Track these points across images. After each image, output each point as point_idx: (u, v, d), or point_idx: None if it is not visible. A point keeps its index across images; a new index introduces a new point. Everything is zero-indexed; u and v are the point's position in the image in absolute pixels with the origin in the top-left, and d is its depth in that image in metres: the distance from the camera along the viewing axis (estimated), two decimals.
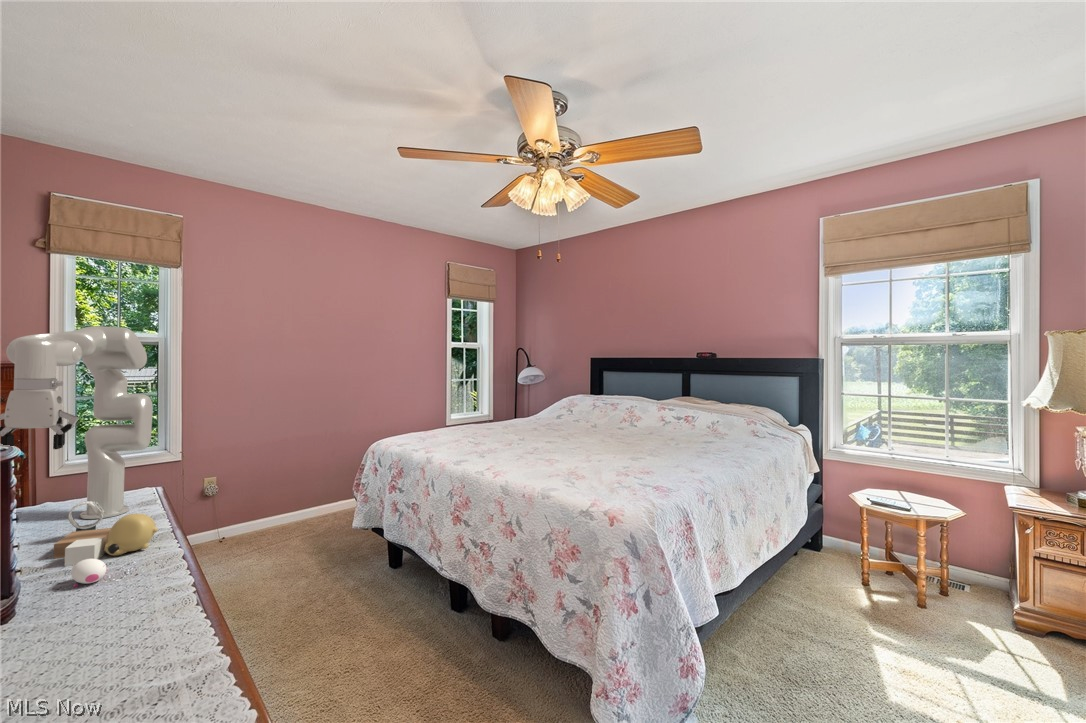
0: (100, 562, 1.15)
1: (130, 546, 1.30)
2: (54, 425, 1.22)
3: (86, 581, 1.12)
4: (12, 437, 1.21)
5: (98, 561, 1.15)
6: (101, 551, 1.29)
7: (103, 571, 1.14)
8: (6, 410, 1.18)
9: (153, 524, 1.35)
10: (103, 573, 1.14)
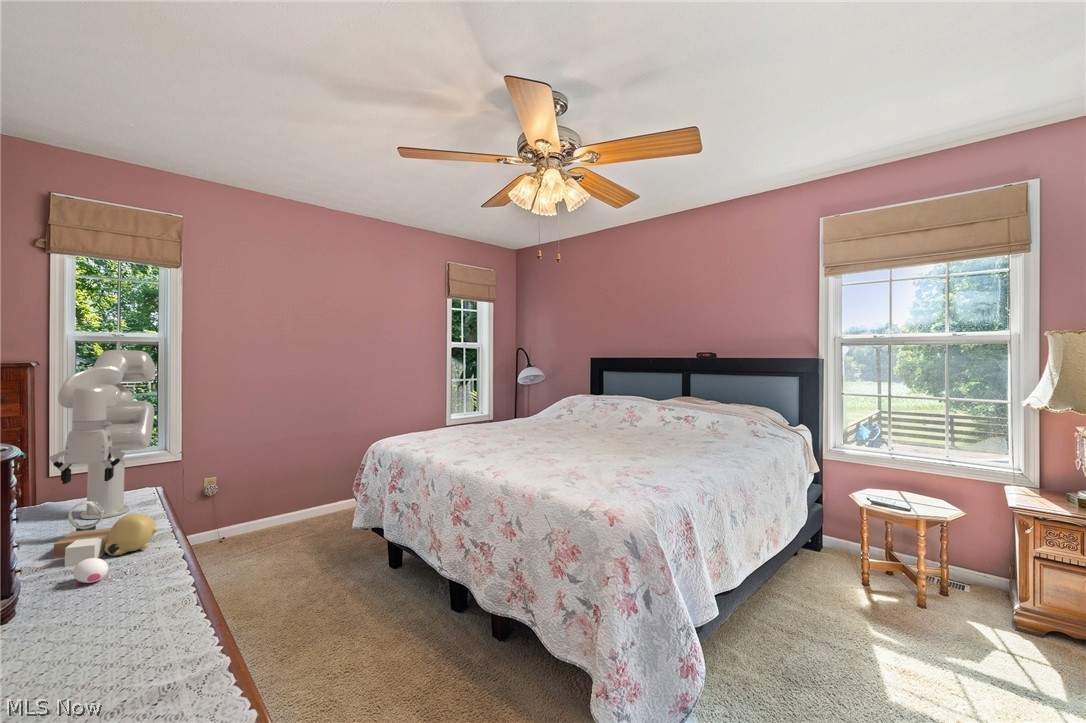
0: (102, 561, 1.15)
1: (130, 546, 1.30)
2: (105, 460, 1.42)
3: (88, 580, 1.12)
4: (70, 471, 1.40)
5: (100, 560, 1.15)
6: (101, 551, 1.29)
7: (105, 570, 1.15)
8: (65, 448, 1.38)
9: (153, 524, 1.35)
10: (105, 572, 1.15)
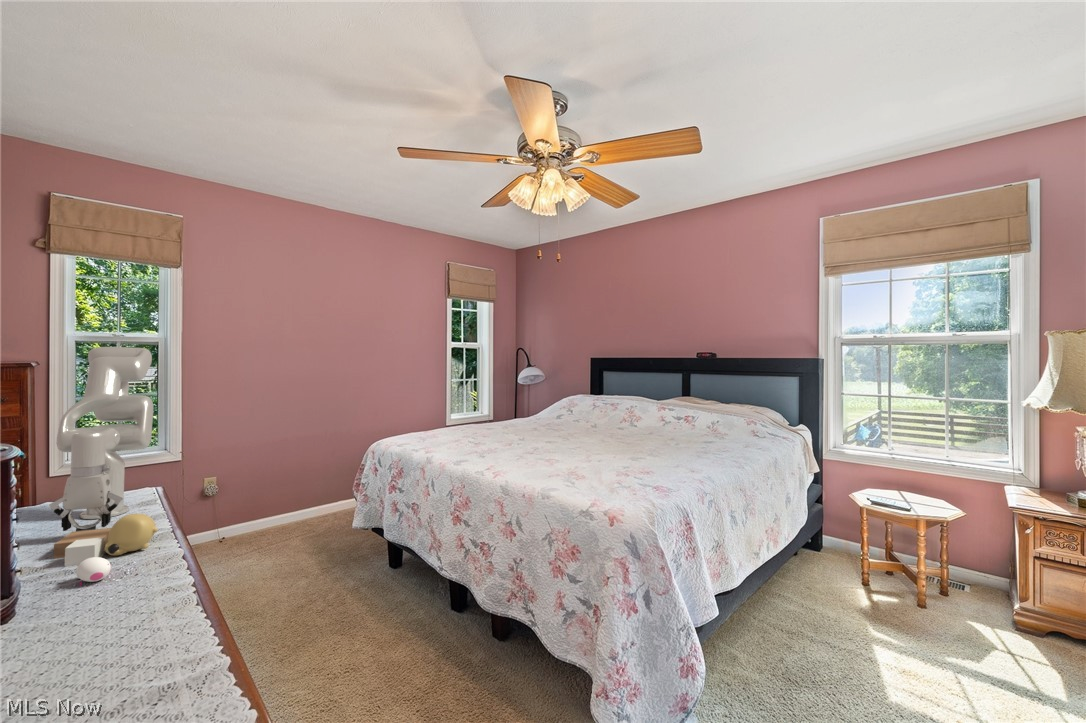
0: (105, 560, 1.16)
1: (130, 546, 1.30)
2: (103, 506, 1.42)
3: (91, 579, 1.13)
4: None
5: (102, 559, 1.16)
6: (101, 551, 1.29)
7: (107, 569, 1.15)
8: (64, 495, 1.38)
9: (153, 524, 1.35)
10: (108, 571, 1.15)
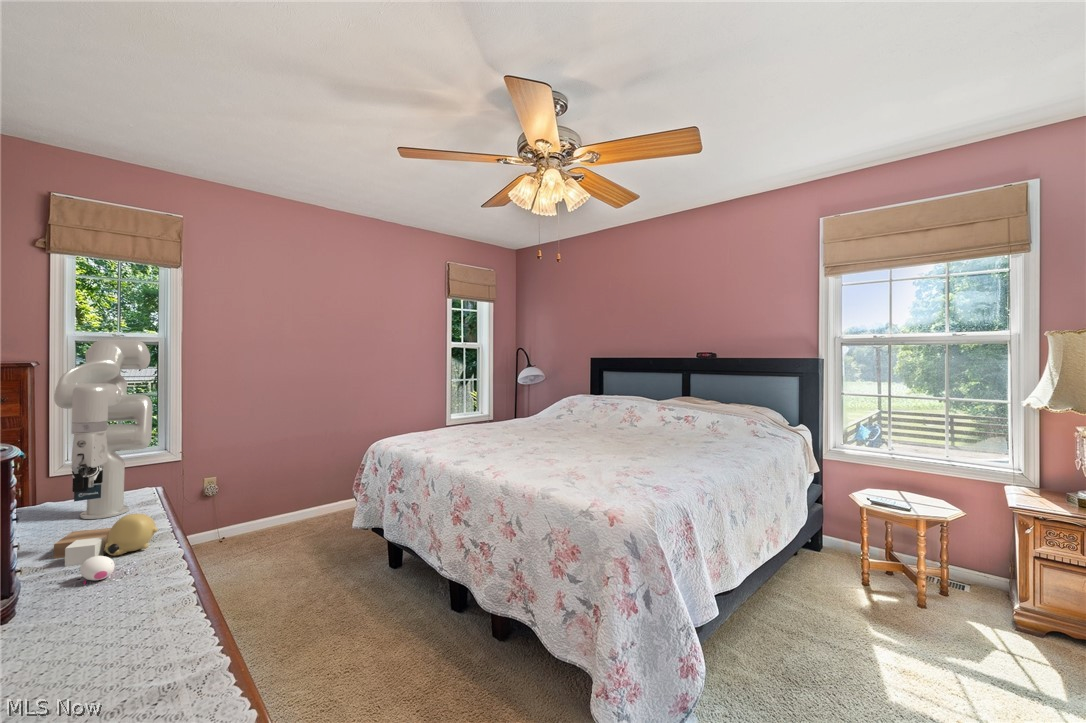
0: (108, 559, 1.17)
1: (130, 546, 1.30)
2: None
3: (95, 578, 1.14)
4: None
5: (106, 558, 1.16)
6: (101, 551, 1.29)
7: (111, 568, 1.16)
8: None
9: (153, 524, 1.35)
10: (111, 570, 1.16)
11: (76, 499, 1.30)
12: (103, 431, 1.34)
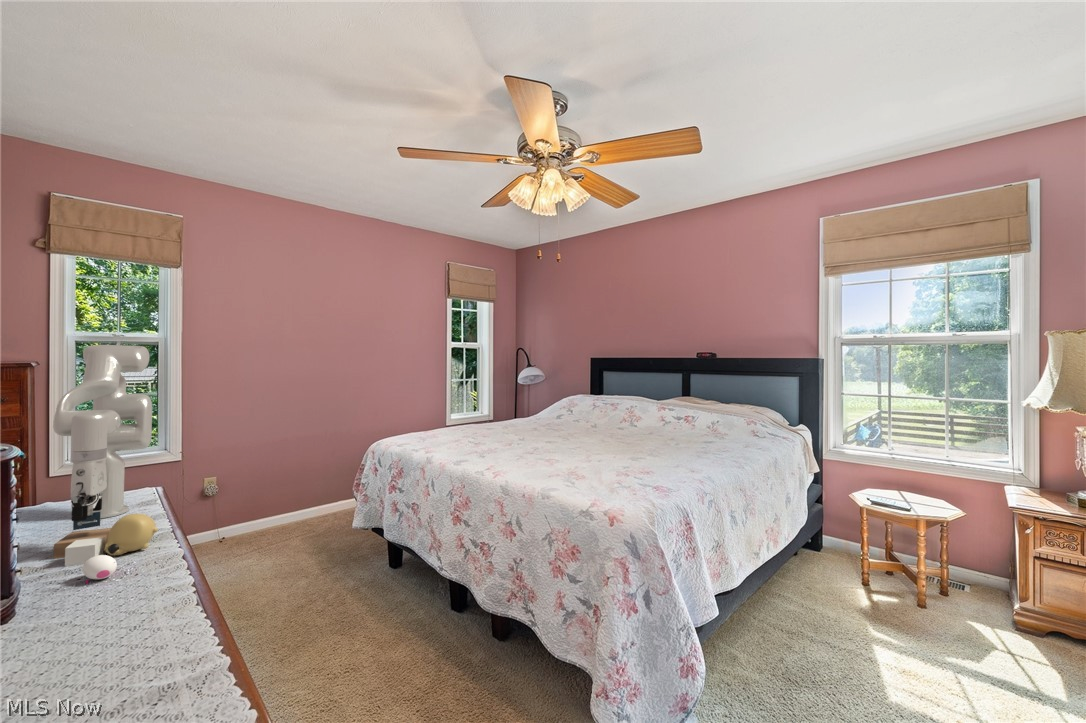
0: (111, 558, 1.17)
1: (130, 546, 1.30)
2: None
3: (97, 577, 1.14)
4: None
5: (108, 557, 1.17)
6: (101, 551, 1.29)
7: (113, 567, 1.16)
8: None
9: (153, 524, 1.35)
10: (114, 569, 1.17)
11: (75, 528, 1.30)
12: (102, 459, 1.34)
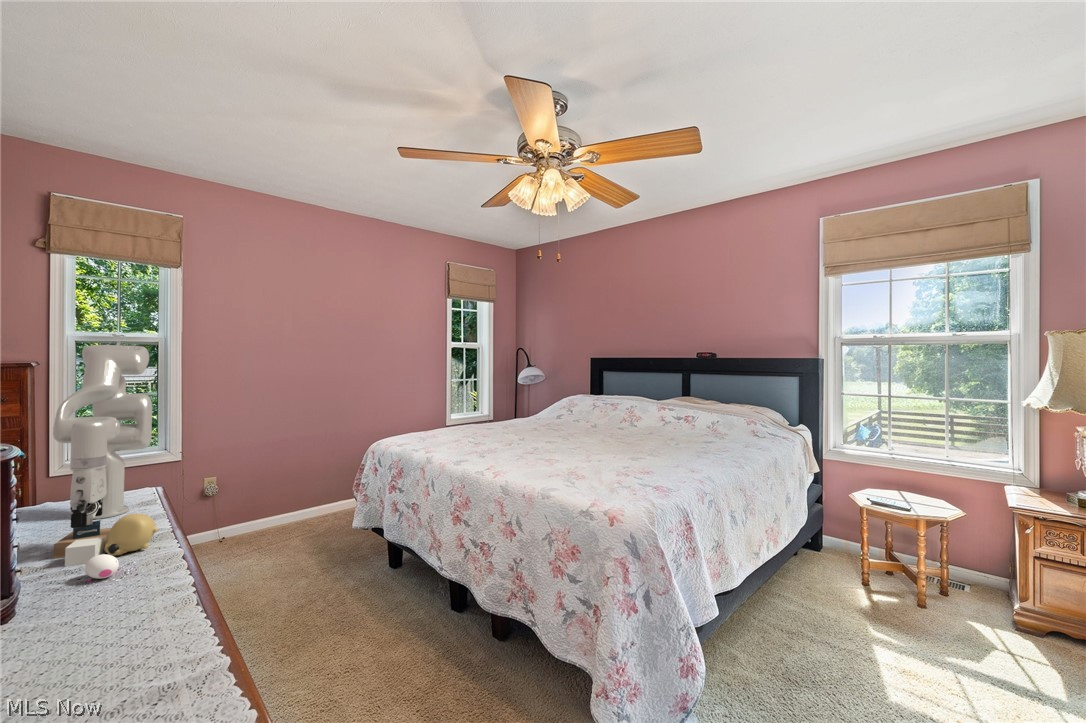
0: (113, 558, 1.17)
1: (130, 546, 1.30)
2: None
3: (99, 576, 1.15)
4: None
5: (110, 557, 1.17)
6: (101, 551, 1.29)
7: (115, 566, 1.17)
8: None
9: (153, 524, 1.35)
10: (116, 568, 1.17)
11: (75, 537, 1.30)
12: (102, 466, 1.34)
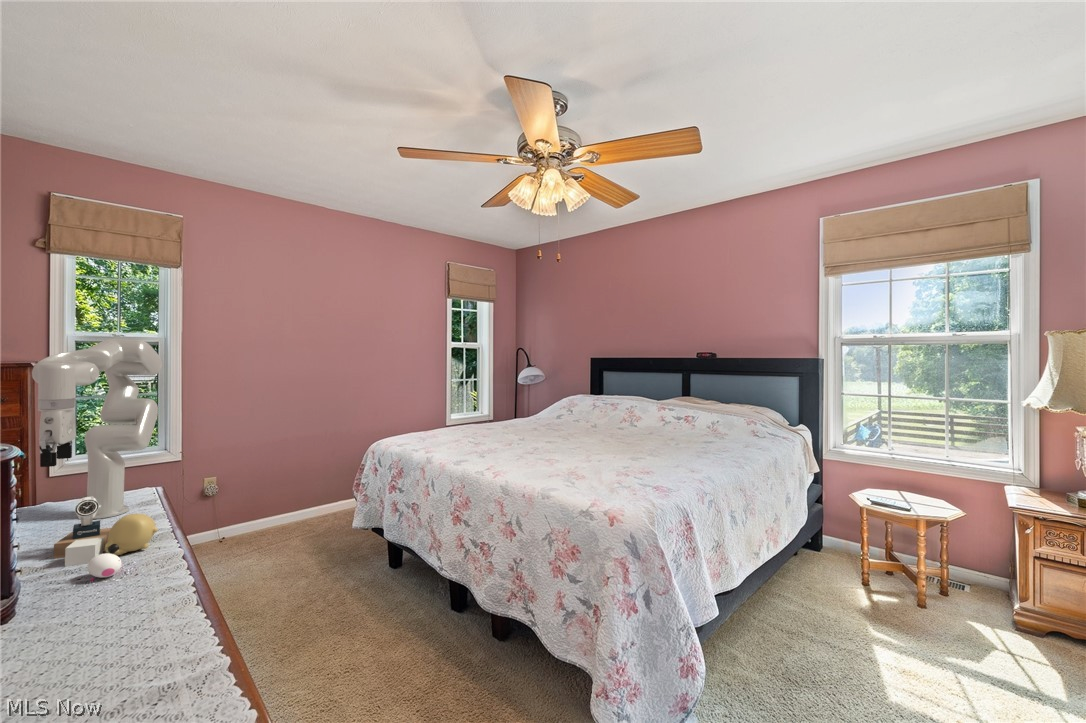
0: (115, 557, 1.18)
1: (130, 546, 1.30)
2: None
3: (102, 575, 1.15)
4: (67, 447, 1.39)
5: (113, 556, 1.18)
6: (101, 551, 1.29)
7: (118, 565, 1.17)
8: None
9: (153, 524, 1.35)
10: (118, 567, 1.18)
11: (75, 537, 1.30)
12: (71, 408, 1.35)
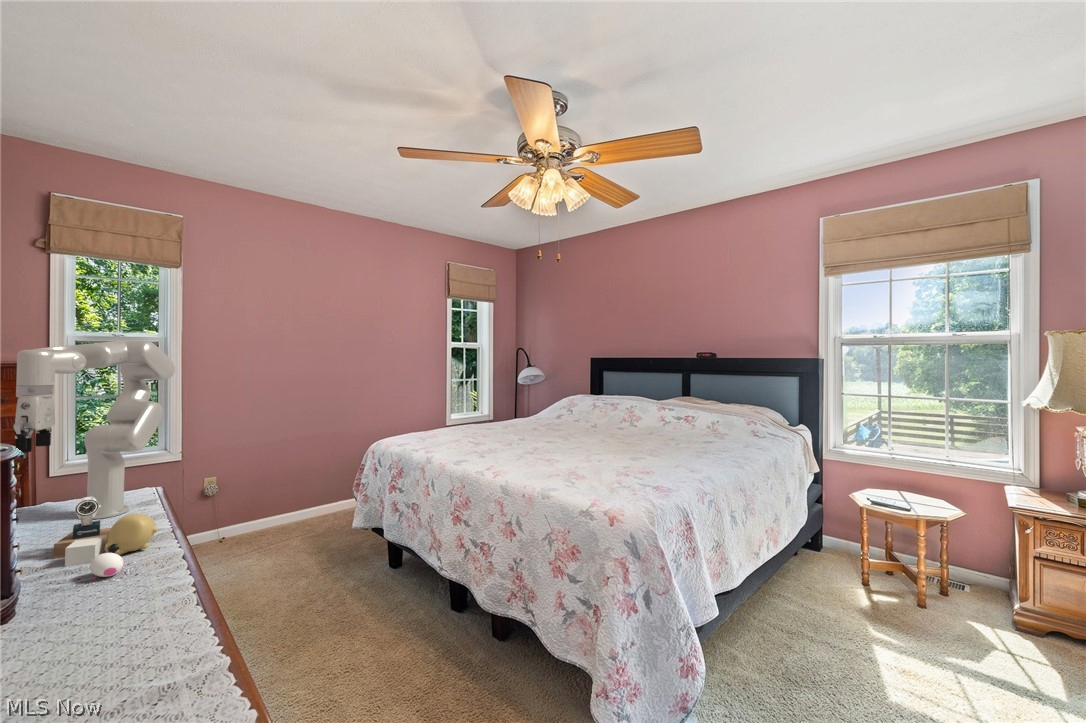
0: (117, 556, 1.18)
1: (130, 546, 1.30)
2: None
3: (104, 574, 1.16)
4: (46, 435, 1.40)
5: (115, 555, 1.18)
6: (101, 551, 1.29)
7: (120, 565, 1.18)
8: None
9: (153, 524, 1.35)
10: (120, 567, 1.18)
11: (75, 537, 1.30)
12: (49, 395, 1.36)
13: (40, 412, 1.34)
